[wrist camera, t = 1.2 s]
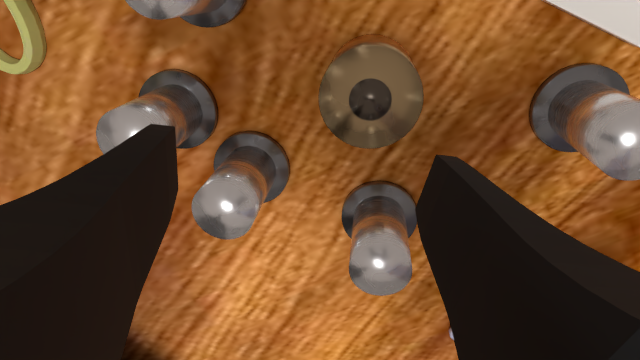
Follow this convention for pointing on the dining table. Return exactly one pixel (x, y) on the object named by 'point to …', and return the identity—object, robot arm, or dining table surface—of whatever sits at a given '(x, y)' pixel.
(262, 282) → the dining table surface
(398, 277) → the spacer field
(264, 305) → the dining table surface
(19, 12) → the key
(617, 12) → the ceramic tile
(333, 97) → the brown metallic cylinder
